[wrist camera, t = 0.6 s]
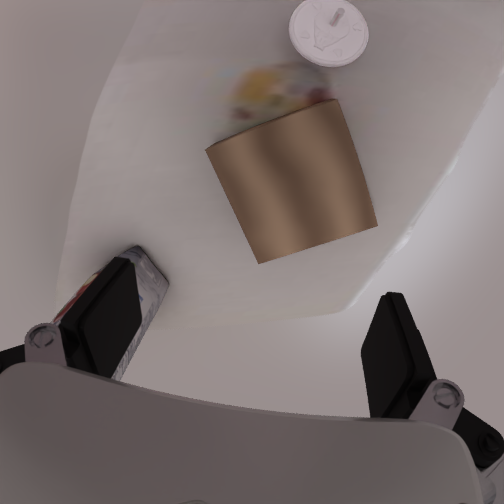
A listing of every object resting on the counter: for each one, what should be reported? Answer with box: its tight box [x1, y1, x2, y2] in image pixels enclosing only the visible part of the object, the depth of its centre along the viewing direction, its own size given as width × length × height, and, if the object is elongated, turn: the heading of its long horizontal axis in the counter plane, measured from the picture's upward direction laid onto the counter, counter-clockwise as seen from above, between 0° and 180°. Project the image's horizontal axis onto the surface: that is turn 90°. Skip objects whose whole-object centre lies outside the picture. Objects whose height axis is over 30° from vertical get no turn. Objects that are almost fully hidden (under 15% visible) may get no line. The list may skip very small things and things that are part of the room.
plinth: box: [205, 99, 378, 264], centre depth 34 cm, size 14×14×4 cm
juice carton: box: [50, 246, 168, 381], centre depth 33 cm, size 9×10×27 cm
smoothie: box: [289, 0, 369, 67], centre depth 22 cm, size 6×6×14 cm
